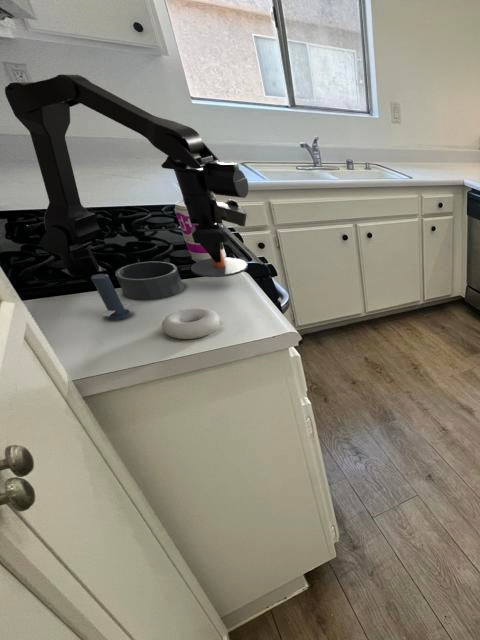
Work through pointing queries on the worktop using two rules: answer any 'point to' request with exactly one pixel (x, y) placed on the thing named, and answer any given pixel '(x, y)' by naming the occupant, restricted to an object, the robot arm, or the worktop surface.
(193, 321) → the donut
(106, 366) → the worktop surface
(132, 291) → the bowl
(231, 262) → the bowl lid
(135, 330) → the worktop surface
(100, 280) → the food processor blade
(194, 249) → the supplement can
